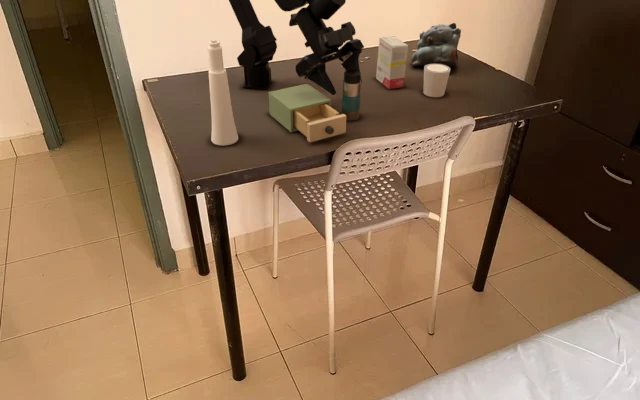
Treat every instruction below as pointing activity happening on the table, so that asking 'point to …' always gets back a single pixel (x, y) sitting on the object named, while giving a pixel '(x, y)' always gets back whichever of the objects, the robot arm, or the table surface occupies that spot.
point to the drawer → (319, 122)
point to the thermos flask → (351, 94)
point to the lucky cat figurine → (438, 46)
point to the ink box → (391, 62)
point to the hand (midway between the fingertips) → (347, 88)
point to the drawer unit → (293, 103)
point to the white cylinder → (435, 79)
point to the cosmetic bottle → (220, 99)
